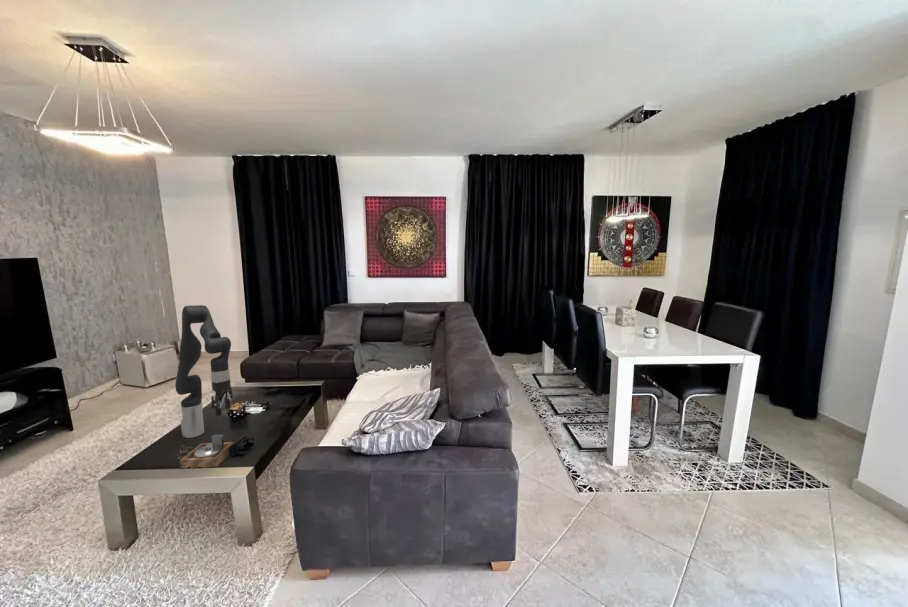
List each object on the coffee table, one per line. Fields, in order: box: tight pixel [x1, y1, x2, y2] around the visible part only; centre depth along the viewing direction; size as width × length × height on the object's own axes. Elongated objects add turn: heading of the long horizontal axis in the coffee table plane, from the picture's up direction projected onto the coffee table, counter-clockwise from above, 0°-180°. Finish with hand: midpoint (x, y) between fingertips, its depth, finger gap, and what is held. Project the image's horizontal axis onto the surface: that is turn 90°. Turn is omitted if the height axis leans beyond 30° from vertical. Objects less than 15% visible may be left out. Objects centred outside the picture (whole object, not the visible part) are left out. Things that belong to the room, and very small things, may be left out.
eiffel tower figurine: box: [176, 431, 194, 464], centre depth 182 cm, size 15×10×13 cm
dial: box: [194, 434, 225, 458], centre depth 178 cm, size 13×11×9 cm
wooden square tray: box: [179, 441, 235, 469], centre depth 179 cm, size 16×16×4 cm
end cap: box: [229, 434, 255, 458], centre depth 185 cm, size 10×7×7 cm
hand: (223, 412), depth 176 cm, fingers open, 8 cm apart
